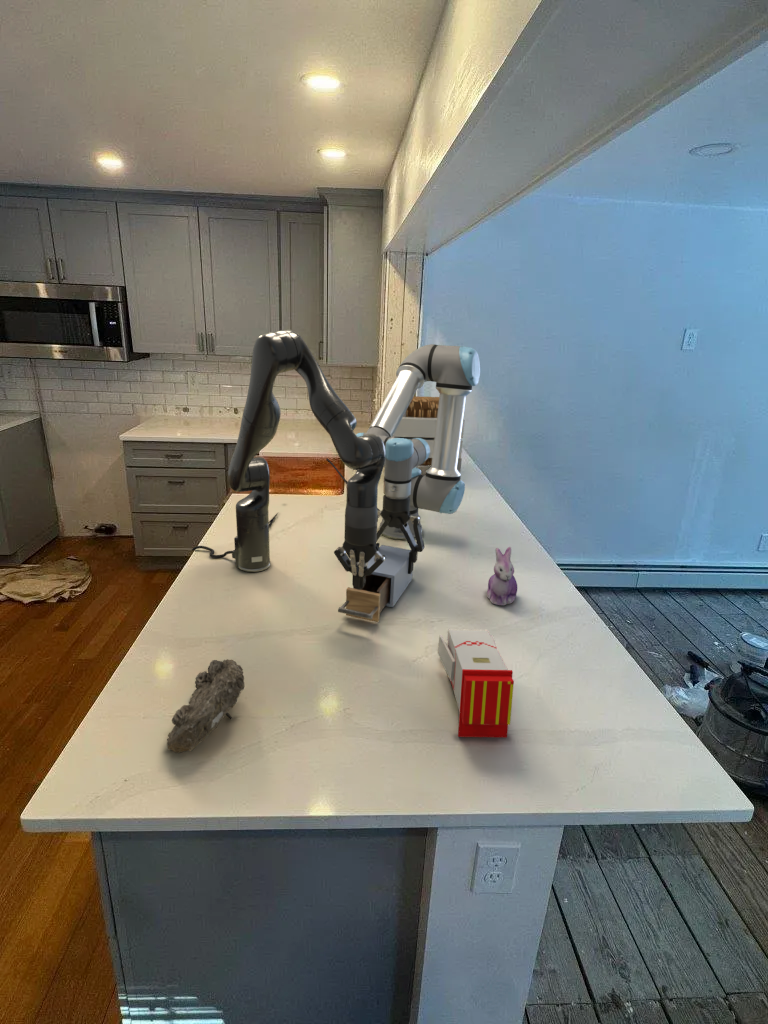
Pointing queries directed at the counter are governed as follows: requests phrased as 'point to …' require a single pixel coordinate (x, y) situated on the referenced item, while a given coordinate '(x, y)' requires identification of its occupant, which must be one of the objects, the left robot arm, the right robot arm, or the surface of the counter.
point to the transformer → (423, 424)
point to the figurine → (502, 580)
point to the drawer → (367, 598)
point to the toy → (478, 682)
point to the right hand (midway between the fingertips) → (392, 568)
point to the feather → (272, 520)
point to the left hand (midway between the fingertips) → (358, 588)
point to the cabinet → (394, 570)
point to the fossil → (206, 705)
